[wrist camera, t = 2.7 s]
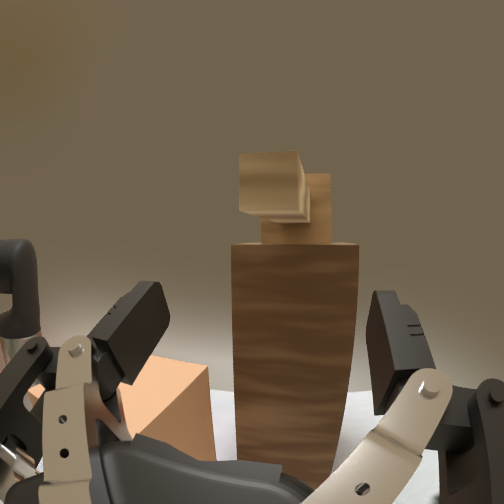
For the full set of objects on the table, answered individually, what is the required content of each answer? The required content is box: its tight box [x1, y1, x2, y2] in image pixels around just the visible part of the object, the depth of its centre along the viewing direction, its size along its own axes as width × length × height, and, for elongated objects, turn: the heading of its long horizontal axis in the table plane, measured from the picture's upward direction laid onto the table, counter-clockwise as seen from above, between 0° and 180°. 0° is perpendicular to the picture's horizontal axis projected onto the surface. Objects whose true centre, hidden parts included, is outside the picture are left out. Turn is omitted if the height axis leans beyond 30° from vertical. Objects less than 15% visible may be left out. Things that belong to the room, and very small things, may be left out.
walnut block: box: [231, 242, 359, 489], centre depth 33 cm, size 14×12×32 cm
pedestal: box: [27, 355, 217, 461], centre depth 22 cm, size 14×12×20 cm
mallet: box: [240, 151, 331, 244], centre depth 25 cm, size 23×7×7 cm, turn 166°
